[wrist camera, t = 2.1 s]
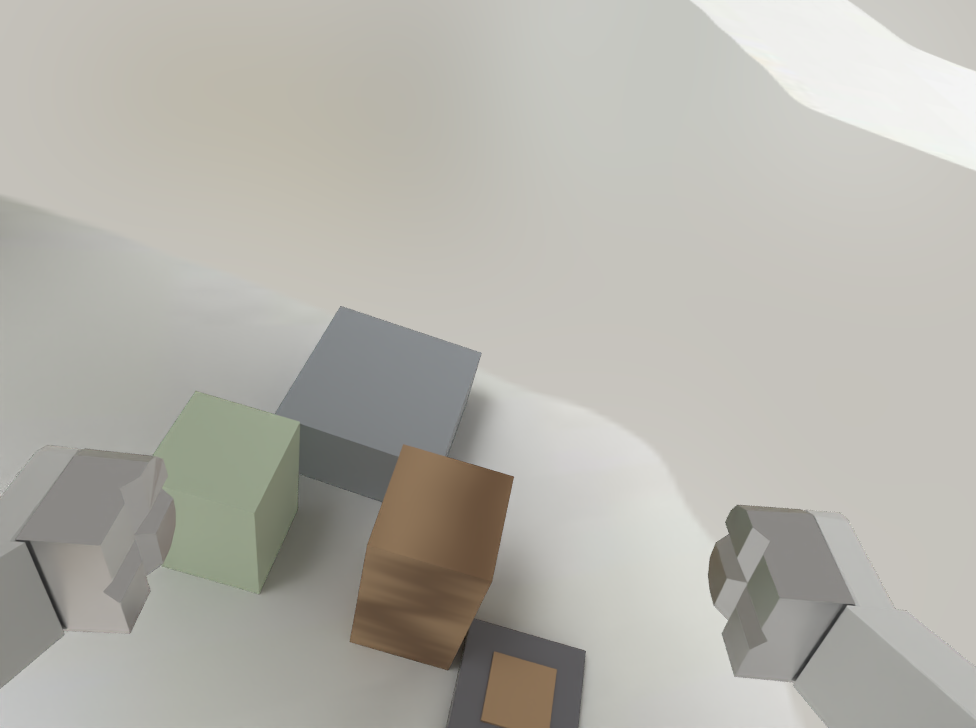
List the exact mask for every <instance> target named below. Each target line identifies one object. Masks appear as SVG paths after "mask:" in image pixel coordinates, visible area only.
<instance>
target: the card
mask: <svg viewBox="0 0 976 728" xmlns="http://www.w3.org/2000/svg"><path fill="white" fill-rule="evenodd" d="M585 653H586V651H584V650H581V649H578V648H574V647H571V646H567V645H564V644H560V643H557V642H553V641H550V640H547V639H543V638H540V637H536V636H533V635H529V634H526V633H522V632H519V631H516V630H512V629H509V628H505V627H502V626H498V625H495V624H491V623H488V622H485V621H481V620H478V619H473V621H472V623H471V625H470V627H469V629H468V631H467V635H466V640H465V644H464V649H463V653H462V658H461V662H460V667H459V671H458V676H457V680H456V685H455V689H454V694H453V698H452V703H451V707H450V712H449V716H448V721H447V725H446V728H578V724H579V714H580V704H581V694H582V684H583V674H584V663H585Z"/></svg>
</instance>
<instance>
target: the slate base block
mask: <svg viewBox="0 0 976 728" xmlns="http://www.w3.org/2000/svg"><path fill="white" fill-rule="evenodd" d="M480 357H481V353H480V352H477V351H474V350H471V349H468V348H465V347H462V346H459V345H456V344H453V343H450V342H447V341H444V340H441V339H438V338H435V337H432V336H429V335H426V334H423V333H420V332H417V331H414V330H411V329H408V328H405V327H402V326H399V325H396V324H393V323H390V322H387V321H384V320H381V319H378V318H375V317H372V316H369V315H366V314H363V313H360V312H357V311H354V310H351V309H348V308H345V307H342V306H340V308H339V310H338V311H337V313H336V314H335V316H334V318H333V319H332V321H331V323H330V324H329V326H328V328H327V329H326V331H325V332H324V334H323V336H322V337H321V339H320V341H319V342H318V344H317V346H316V347H315V349H314V351H313V352H312V354H311V355H310V357H309V359H308V360H307V362H306V364H305V365H304V367H303V369H302V370H301V372H300V374H299V375H298V377H297V378H296V380H295V382H294V383H293V385H292V387H291V388H290V390H289V392H288V393H287V395H286V397H285V398H284V400H283V401H282V403H281V405H280V406H279V408H278V410H277V411H276V413H275V415H279V416H282V417H286V418H289V419H292V420H296V421H299V422H300V443H299V474H301V475H304V476H307V477H310V478H313V479H316V480H319V481H321V482H324V483H327V484H330V485H333V486H336V487H339V488H342V489H345V490H348V491H351V492H354V493H357V494H360V495H363V496H366V497H369V498H372V499H375V500H378V501H381V502H383V499H384V497H385V494H386V491H387V488H388V485H389V483H390V480H391V477H392V474H393V471H394V469H395V466H396V463H397V460H398V457H399V455H400V452H401V449H402V446H403V444H405V445H408V446H412V447H415V448H418V449H422V450H425V451H429V452H432V453H435V454H439V455H442V456H446V457H447V456H448V453H449V450H450V448H451V445H452V442H453V439H454V436H455V434H456V431H457V428H458V425H459V422H460V420H461V417H462V414H463V411H464V408H465V406H466V403H467V400H468V396H469V393H470V390H471V386H472V383H473V380H474V377H475V373H476V370H477V367H478V363H479V360H480Z"/></svg>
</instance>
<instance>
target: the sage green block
mask: <svg viewBox="0 0 976 728" xmlns="http://www.w3.org/2000/svg"><path fill="white" fill-rule="evenodd" d="M299 443H300V422H299V421H296V420H292V419H289V418H286V417H282V416H279V415H275V414H272V413H269V412H265V411H262V410H258V409H255V408H252V407H248V406H245V405H241V404H238V403H235V402H231V401H228V400H224V399H221V398H218V397H214V396H211V395H208V394H204V393H201V392H197V391H195V393H194V394H193V396H192V397H191V399H190V400H189V402H188V403H187V405H186V406H185V408H184V409H183V411H182V412H181V414H180V415H179V417H178V418H177V420H176V421H175V423H174V424H173V426H172V427H171V429H170V430H169V432H168V433H167V435H166V436H165V438H164V439H163V441H162V442H161V444H160V445H159V447H158V448H157V450H156V451H155V453H154V454H153V456H156V457H159V458H162V459H163V460H164V463H165V467H166V470H167V474H168V477H167V479H166V481H165V483H164V485H163V487H162V489H163V490H164V491H166V492H167V493H168V494H169V495H170V496H171V497H172V498H173V500H174V505H175V509H176V527H175V531H174V536H173V540H172V544H171V548H170V550H169V552H168V554H167V557H166V559H165V561H164V563H163V564H162V565H161V566H163V567H166V568H170V569H173V570H177V571H180V572H184V573H187V574H191V575H194V576H198V577H201V578H204V579H208V580H211V581H215V582H218V583H222V584H225V585H229V586H232V587H236V588H239V589H242V590H246V591H249V592H253V593H256V594H260V591H261V589H262V587H263V585H264V583H265V580H266V578H267V576H268V574H269V572H270V569H271V567H272V565H273V563H274V561H275V558H276V556H277V554H278V552H279V550H280V547H281V545H282V543H283V541H284V539H285V536H286V534H287V532H288V530H289V528H290V525H291V523H292V521H293V519H294V517H295V514H296V512H297V510H298V480H299Z"/></svg>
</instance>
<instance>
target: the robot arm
mask: <svg viewBox="0 0 976 728" xmlns="http://www.w3.org/2000/svg"><path fill="white" fill-rule="evenodd" d="M167 477H168V474H167V470H166V467H165V463H164V460H163V459H162V458H159V457H156V456H148V455H139V454H130V453H120V452H111V451H102V450H93V449H78V448H68V447H59V446H50V445H47V446H45V447H43V448H42V449H40V450H38V451H37V452H35V453H34V455H33V456H32V457H31V458H30V460H29V461H28V462H27V464H26V465H25V466H24V467H23V469H22V470H21V471H20V473H19V474H18V475H17V476H16V478H15V479H14V480H13V482H12V483H11V484H10V485H9V487H8V488H7V489H6V491H5V492H4V493H3V494H2V496H1V497H0V689H1V688H2V687H3V686H4V685H6V684H7V683H8V682H9V681H10V680H11V679H13V678H14V677H15V676H16V675H17V674H19V673H20V672H21V671H22V670H23V669H24V668H26V667H27V666H28V665H29V664H30V663H32V662H33V661H34V660H35V659H36V658H37V657H39V656H40V655H41V654H42V653H43V652H45V651H46V650H47V649H48V648H49V647H50V646H52V645H53V644H54V643H55V642H56V641H58V640H59V639H60V638H61V637H62V636H63V635H64V631H80V632H103V633H125V634H130V633H131V631H132V629H133V627H134V625H135V622H136V620H137V618H138V616H139V614H140V612H141V610H142V608H143V606H144V604H145V601H146V599H147V597H148V595H149V593H150V588H149V584H148V580H147V577H146V576H147V575H148V574H150V573H151V572H152V571H154V570H155V569H157V568H158V567H159V566H161V565H162V564H163V563H164V561H165V559H166V557H167V554H168V552H169V550H170V548H171V544H172V540H173V536H174V531H175V527H176V509H175V505H174V500H173V498H172V497H171V496H170V495H169V494H168V493H167V492H166V491H164V490H163V489H162V487H163V485H164V483H165V481H166V479H167ZM725 523H726V526H727V529H728V532H729V534H728V535H727V536H725V537H724V538H722V539H721V540H719V541H717V542H716V544H715V546H714V549H713V551H712V554H711V556H710V561H709V571H708V579H709V588H710V593H711V597H712V601H713V604H714V606H715V607H716V608H717V609H718V610H719V611H720V612H721V614H722V615H723V616H724V617H725V618H726V619H727V620H728V622H727V624H726V626H725V628H724V630H723V632H722V636H723V639H724V643H725V646H726V650H727V653H728V656H729V660H730V663H731V667H732V670H733V674H734V677H743V678H753V679H763V680H774V681H784V682H794V684H793V686H794V688H795V689H796V690H797V691H798V692H799V694H800V695H801V696H802V697H803V698H804V700H805V701H806V702H807V703H808V704H809V706H810V707H811V708H812V709H813V710H814V712H815V713H816V714H817V715H818V716H819V718H820V719H821V720H822V721H823V722H824V724H825V725H826V726H827V727H828V728H976V666H974V665H973V664H972V663H971V662H969V661H968V660H967V659H966V658H965V657H963V656H962V655H961V654H960V653H958V652H957V651H956V650H955V649H953V648H952V647H951V646H950V645H949V644H947V643H946V642H945V641H944V640H942V639H941V638H940V637H939V636H937V635H936V634H935V633H934V632H933V631H931V630H930V629H929V628H928V627H926V626H925V625H924V624H923V623H921V622H920V621H919V620H918V619H917V618H915V617H914V616H913V615H912V614H910V613H909V612H908V611H907V610H899V609H896V608H895V607H894V605H893V603H892V601H891V599H890V597H889V595H888V593H887V592H886V590H885V588H884V586H883V584H882V582H881V581H880V578H879V576H878V575H877V573H876V571H875V569H874V567H873V565H872V563H871V561H870V560H869V558H868V556H867V554H866V552H865V550H864V548H863V546H862V545H861V543H860V541H859V539H858V537H857V535H856V533H855V531H854V530H853V528H852V526H851V524H850V522H849V520H848V519H847V518H846V517H845V516H844V515H843V514H841V513H840V512H839V513H838V512H827V511H813V510H804V511H803V510H800V509H789V508H775V507H760V506H747V505H737V506H735V507H734V508H733V509H732V510H731V512H730V513H729V515H728V517H727V520H726V522H725Z"/></svg>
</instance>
